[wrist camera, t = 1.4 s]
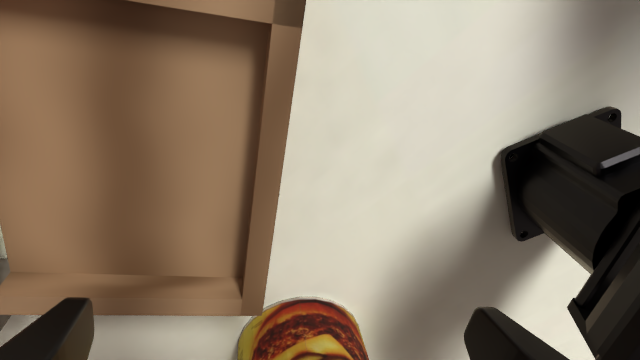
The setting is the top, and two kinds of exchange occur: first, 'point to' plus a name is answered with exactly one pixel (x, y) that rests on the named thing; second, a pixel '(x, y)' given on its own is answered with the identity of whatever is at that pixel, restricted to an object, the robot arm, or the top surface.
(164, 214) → the wooden tray
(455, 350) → the top surface
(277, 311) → the canned food
